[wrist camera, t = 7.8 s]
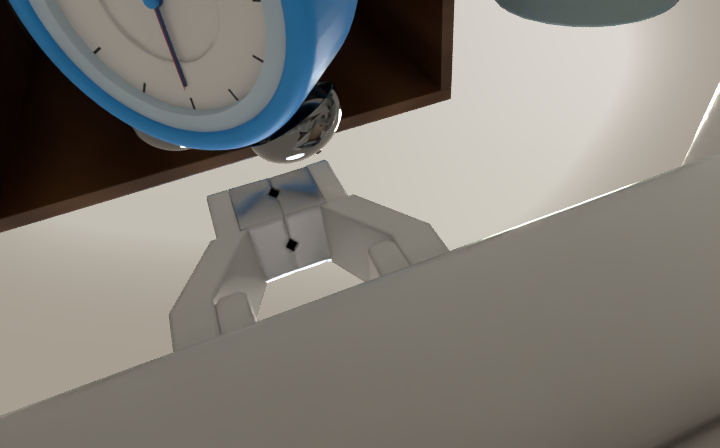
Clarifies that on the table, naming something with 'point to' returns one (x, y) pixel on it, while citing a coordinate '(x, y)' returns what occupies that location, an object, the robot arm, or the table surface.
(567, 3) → the green cup
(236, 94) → the alarm clock
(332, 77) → the cabinet
